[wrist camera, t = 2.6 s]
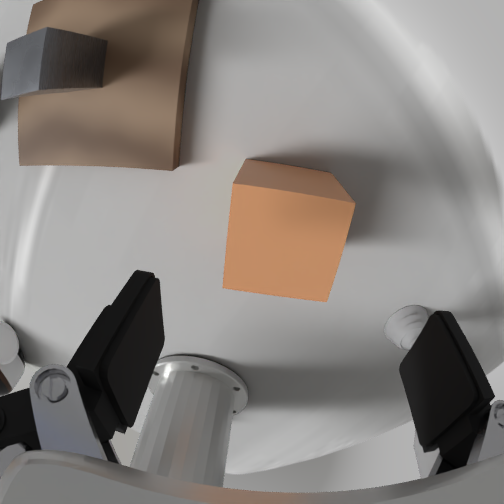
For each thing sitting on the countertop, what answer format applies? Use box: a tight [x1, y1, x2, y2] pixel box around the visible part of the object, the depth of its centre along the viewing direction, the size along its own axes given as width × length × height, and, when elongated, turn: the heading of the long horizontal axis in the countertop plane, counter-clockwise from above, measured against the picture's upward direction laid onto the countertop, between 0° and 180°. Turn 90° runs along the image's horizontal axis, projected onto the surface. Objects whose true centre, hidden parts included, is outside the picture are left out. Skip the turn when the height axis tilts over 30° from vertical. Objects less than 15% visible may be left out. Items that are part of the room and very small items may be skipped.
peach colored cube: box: [223, 159, 356, 302], centre depth 19 cm, size 6×6×7 cm
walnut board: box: [18, 0, 199, 171], centre depth 16 cm, size 16×16×2 cm
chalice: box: [384, 305, 440, 479], centre depth 18 cm, size 7×7×18 cm
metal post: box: [1, 27, 108, 100], centre depth 13 cm, size 4×4×7 cm
